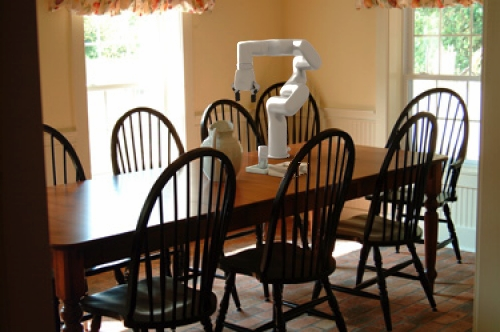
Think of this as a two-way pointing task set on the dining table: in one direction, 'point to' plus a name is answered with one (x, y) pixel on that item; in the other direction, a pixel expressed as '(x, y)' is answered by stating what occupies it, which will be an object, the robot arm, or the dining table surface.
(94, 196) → the dining table surface
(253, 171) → the rack tray
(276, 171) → the crumpled beige cloth
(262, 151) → the white upright block
